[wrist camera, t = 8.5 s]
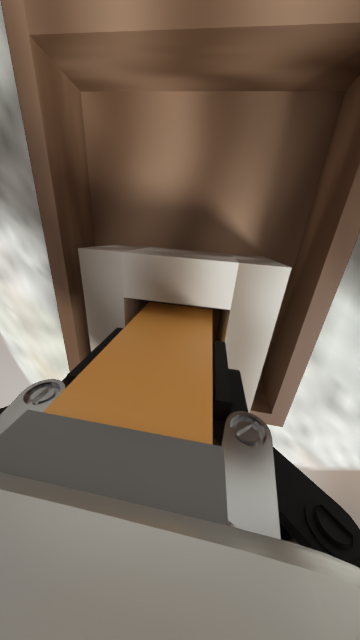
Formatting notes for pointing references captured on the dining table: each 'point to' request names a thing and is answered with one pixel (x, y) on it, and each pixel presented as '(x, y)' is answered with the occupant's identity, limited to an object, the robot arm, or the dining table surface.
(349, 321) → the dining table surface
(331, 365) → the dining table surface
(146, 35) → the walled box
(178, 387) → the connector
